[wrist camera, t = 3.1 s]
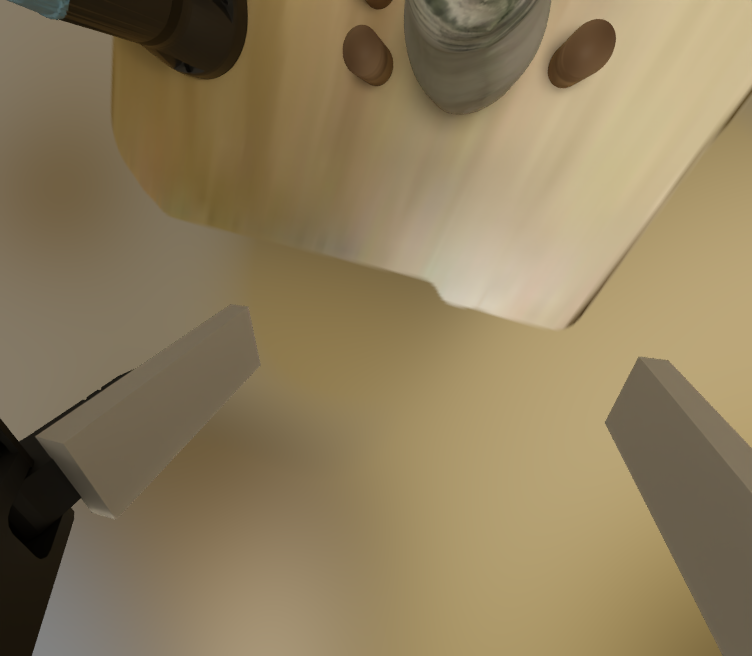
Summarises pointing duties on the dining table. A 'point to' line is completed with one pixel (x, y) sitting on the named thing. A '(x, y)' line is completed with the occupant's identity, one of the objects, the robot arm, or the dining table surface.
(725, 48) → the dining table surface
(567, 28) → the dining table surface
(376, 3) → the cylinder
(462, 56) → the grey ceramic vase
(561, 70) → the cylinder
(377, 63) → the cylinder
